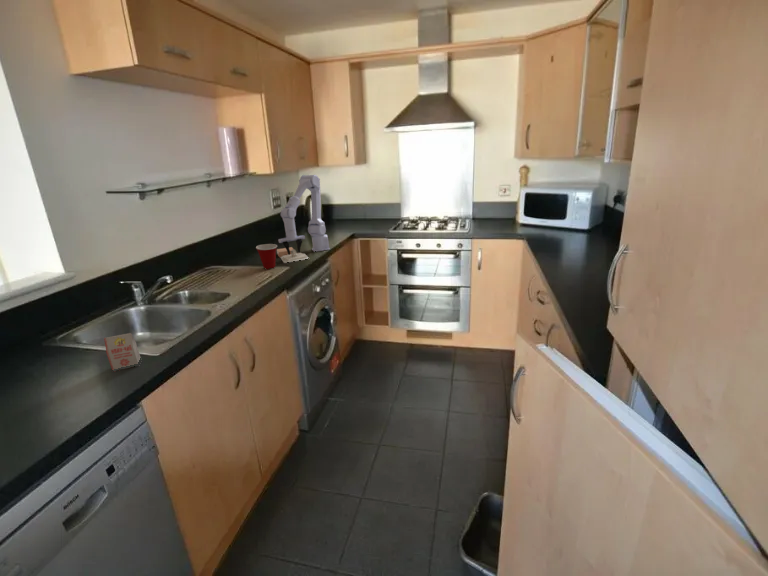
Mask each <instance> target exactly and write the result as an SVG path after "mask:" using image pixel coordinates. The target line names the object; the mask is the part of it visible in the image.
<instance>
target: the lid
mask: <svg viewBox="0 0 768 576" xmlns="http://www.w3.org/2000/svg"><path fill="white" fill-rule="evenodd" d="M307 257H308V255H307V256H306V255H304V253H302V252H301V251H300V253H298V252H297V250H296V249H294V250H291V254H290V255H284V256H282V258H284V259H285V260H287V261H292V260H297V259H303V258H307Z"/></svg>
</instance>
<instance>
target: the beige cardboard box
mask: <svg viewBox="0 0 768 576" xmlns="http://www.w3.org/2000/svg"><path fill="white" fill-rule="evenodd" d="M103 340H104V345H105V352H106V356H107V360H108V362H109V365H110V368H111V371H112V370H114V369H118V368H121V367H126V366H130V365H134V364H138V362H139V360H140V358H141V359H142V357H141V355H140V351H139V348H138V345H137V342H136V340H135V338H134V336H133V334H132V333H131V332H129V333H123V334H118V335H114V336H113V335H112V336H108V337H104V339H103Z"/></svg>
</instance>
